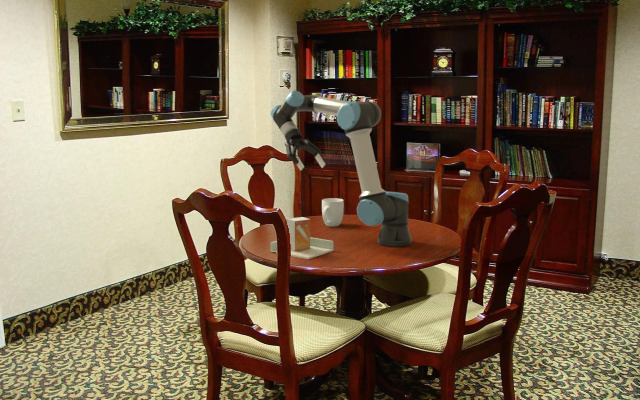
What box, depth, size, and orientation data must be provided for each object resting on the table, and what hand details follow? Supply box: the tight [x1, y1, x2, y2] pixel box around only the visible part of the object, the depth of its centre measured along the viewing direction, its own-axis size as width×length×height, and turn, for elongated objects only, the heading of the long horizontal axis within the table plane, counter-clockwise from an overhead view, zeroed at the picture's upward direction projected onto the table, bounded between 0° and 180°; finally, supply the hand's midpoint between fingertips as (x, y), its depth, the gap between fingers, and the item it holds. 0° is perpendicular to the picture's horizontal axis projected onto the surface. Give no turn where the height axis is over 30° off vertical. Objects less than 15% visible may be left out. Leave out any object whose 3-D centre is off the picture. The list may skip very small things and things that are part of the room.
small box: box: [286, 216, 311, 251], centre depth 286 cm, size 8×6×13 cm
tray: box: [269, 236, 334, 260], centre depth 285 cm, size 20×18×4 cm
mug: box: [321, 197, 345, 228], centre depth 337 cm, size 15×11×13 cm
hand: (313, 167), depth 309 cm, fingers open, 13 cm apart
